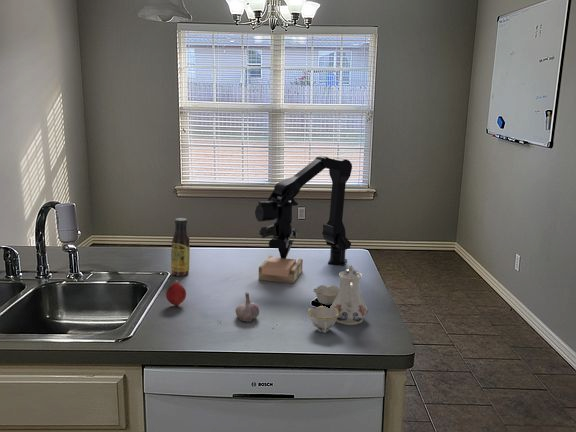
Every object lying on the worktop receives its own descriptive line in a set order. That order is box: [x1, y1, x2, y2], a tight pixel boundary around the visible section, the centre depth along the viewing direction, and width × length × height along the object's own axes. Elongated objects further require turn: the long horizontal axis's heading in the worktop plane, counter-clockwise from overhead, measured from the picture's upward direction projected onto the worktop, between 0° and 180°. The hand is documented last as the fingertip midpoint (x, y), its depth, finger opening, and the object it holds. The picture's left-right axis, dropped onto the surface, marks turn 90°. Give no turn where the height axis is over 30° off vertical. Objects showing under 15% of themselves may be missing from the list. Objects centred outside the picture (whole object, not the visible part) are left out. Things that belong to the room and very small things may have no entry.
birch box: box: [258, 255, 304, 284], centre depth 196 cm, size 14×12×4 cm
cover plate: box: [262, 257, 297, 277], centre depth 192 cm, size 12×9×2 cm
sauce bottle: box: [170, 217, 191, 277], centre depth 193 cm, size 7×6×20 cm
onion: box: [165, 280, 187, 307], centre depth 166 cm, size 6×6×8 cm
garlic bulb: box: [235, 291, 260, 323], centre depth 158 cm, size 8×7×8 cm
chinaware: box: [307, 264, 369, 333], centre depth 158 cm, size 28×17×17 cm, turn 177°
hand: (283, 261), depth 199 cm, fingers closed
